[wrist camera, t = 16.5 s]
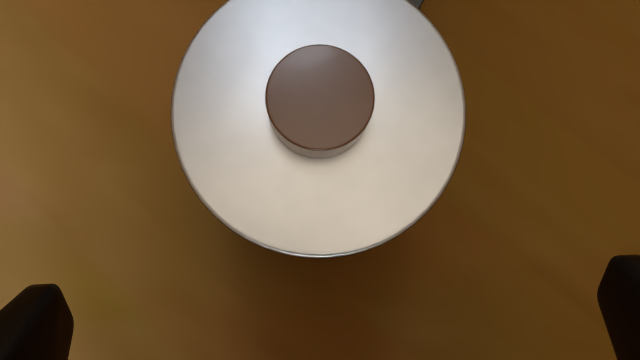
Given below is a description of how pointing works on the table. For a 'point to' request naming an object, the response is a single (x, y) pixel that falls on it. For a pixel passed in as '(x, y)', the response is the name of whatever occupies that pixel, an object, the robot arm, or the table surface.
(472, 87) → the table surface
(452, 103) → the light grey round piece
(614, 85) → the table surface
